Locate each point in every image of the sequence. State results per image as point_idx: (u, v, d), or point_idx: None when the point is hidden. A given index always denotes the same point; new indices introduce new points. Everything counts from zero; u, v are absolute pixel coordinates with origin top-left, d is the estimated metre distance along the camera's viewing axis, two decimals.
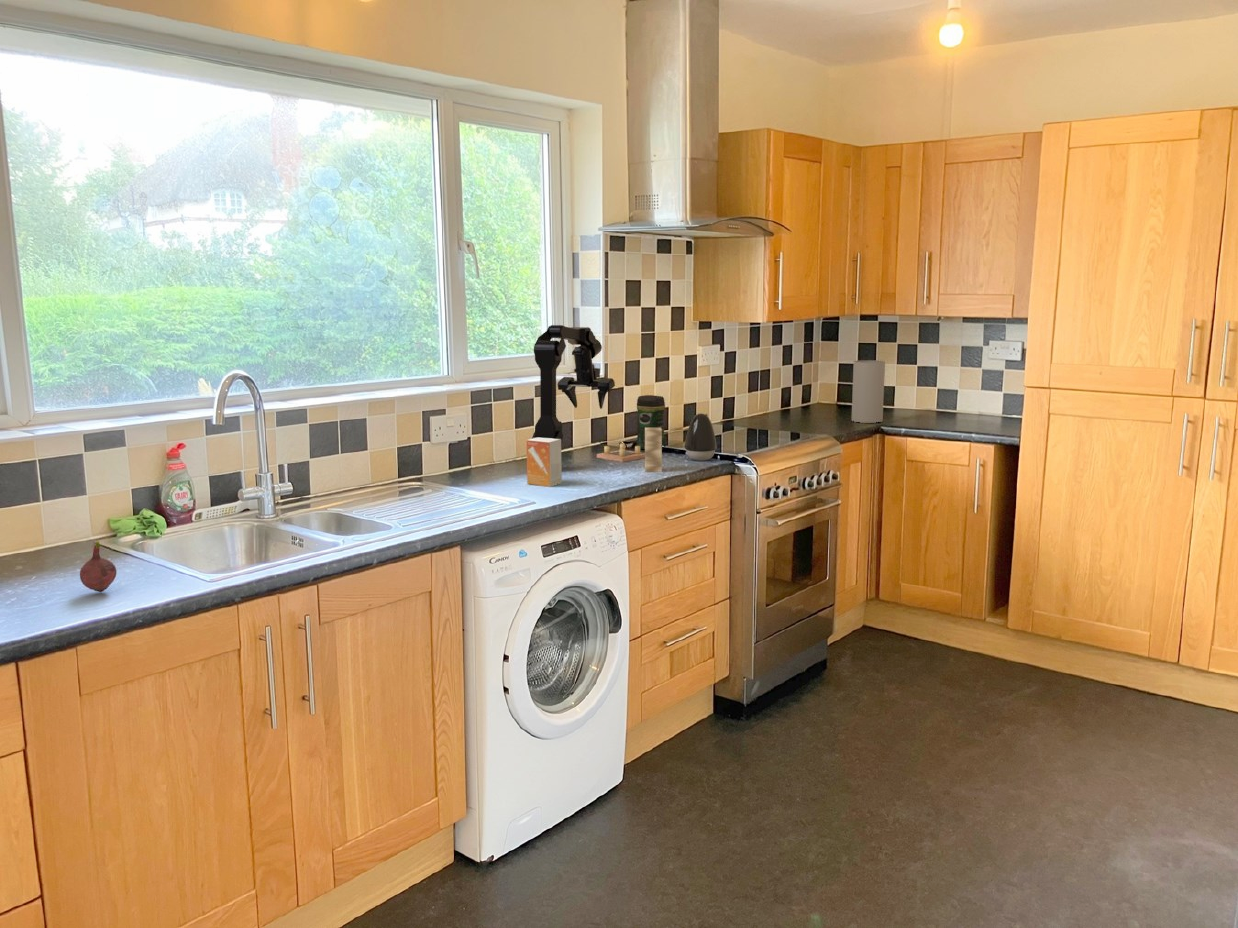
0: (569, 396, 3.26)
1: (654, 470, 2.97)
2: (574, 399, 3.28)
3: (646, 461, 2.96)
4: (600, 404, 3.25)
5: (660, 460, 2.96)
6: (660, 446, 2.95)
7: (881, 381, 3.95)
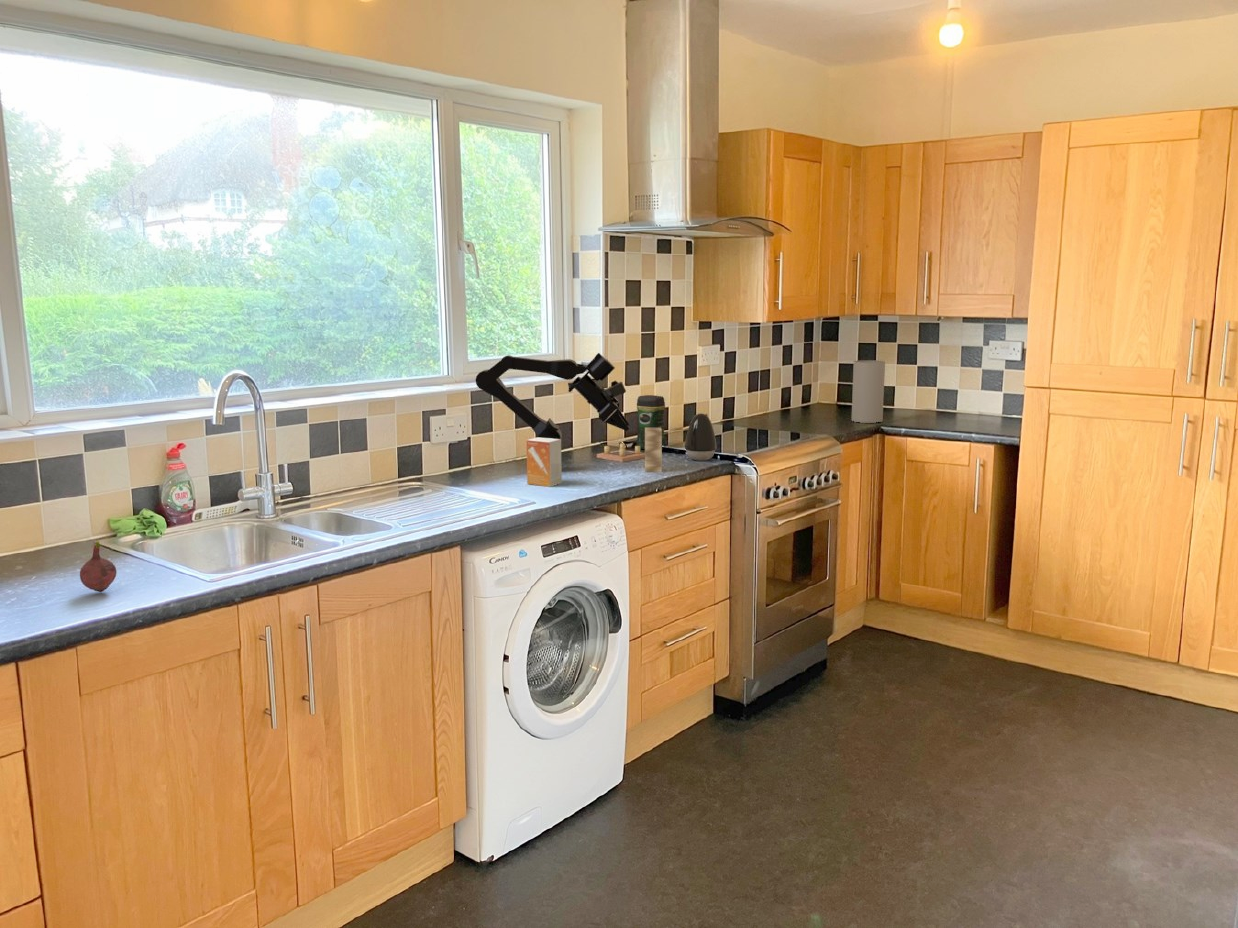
0: None
1: (654, 470, 2.97)
2: None
3: (646, 461, 2.96)
4: None
5: (660, 460, 2.96)
6: (660, 446, 2.95)
7: (881, 381, 3.95)
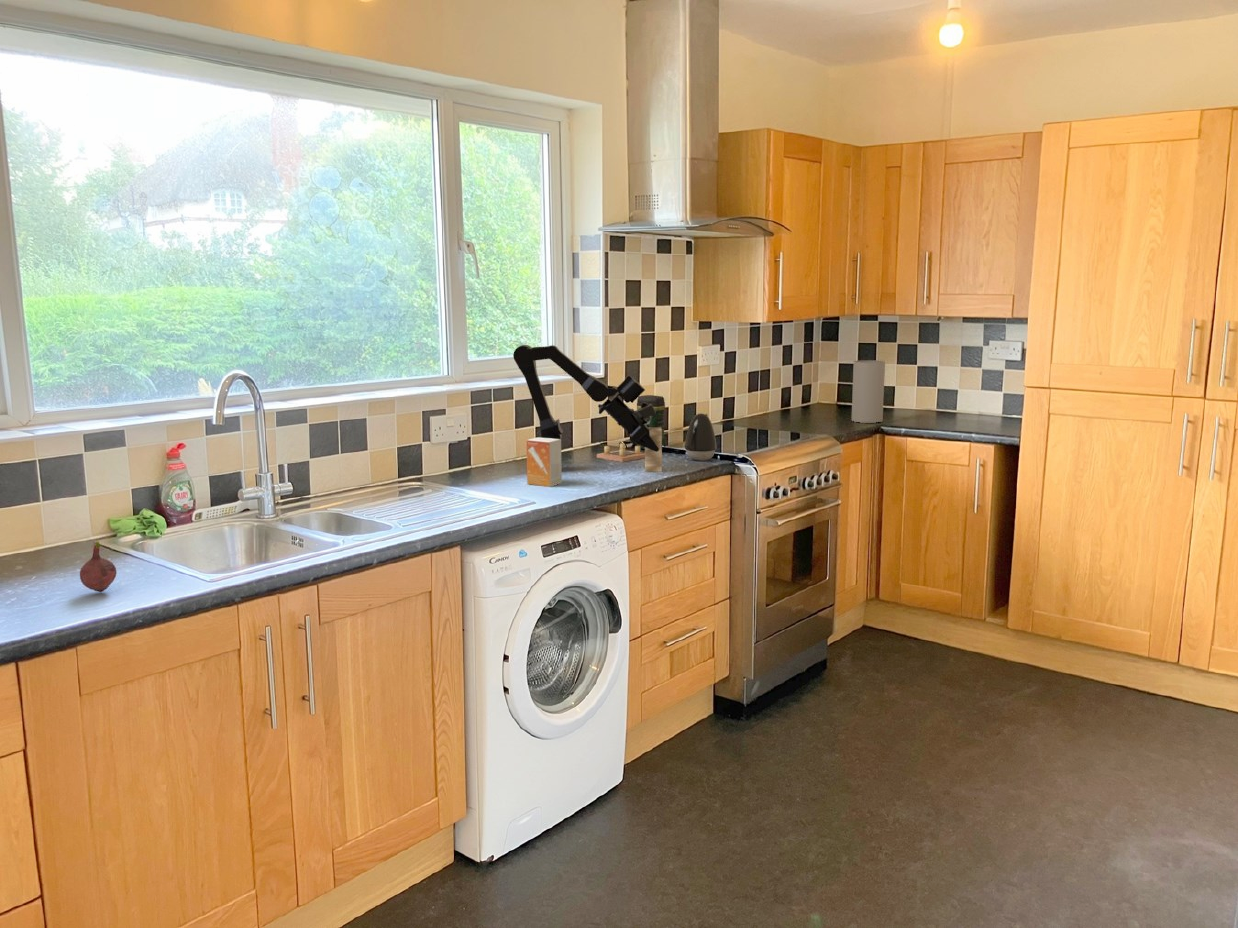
0: None
1: (654, 470, 2.97)
2: None
3: (646, 461, 2.96)
4: None
5: (660, 460, 2.96)
6: (660, 446, 2.95)
7: (881, 381, 3.95)
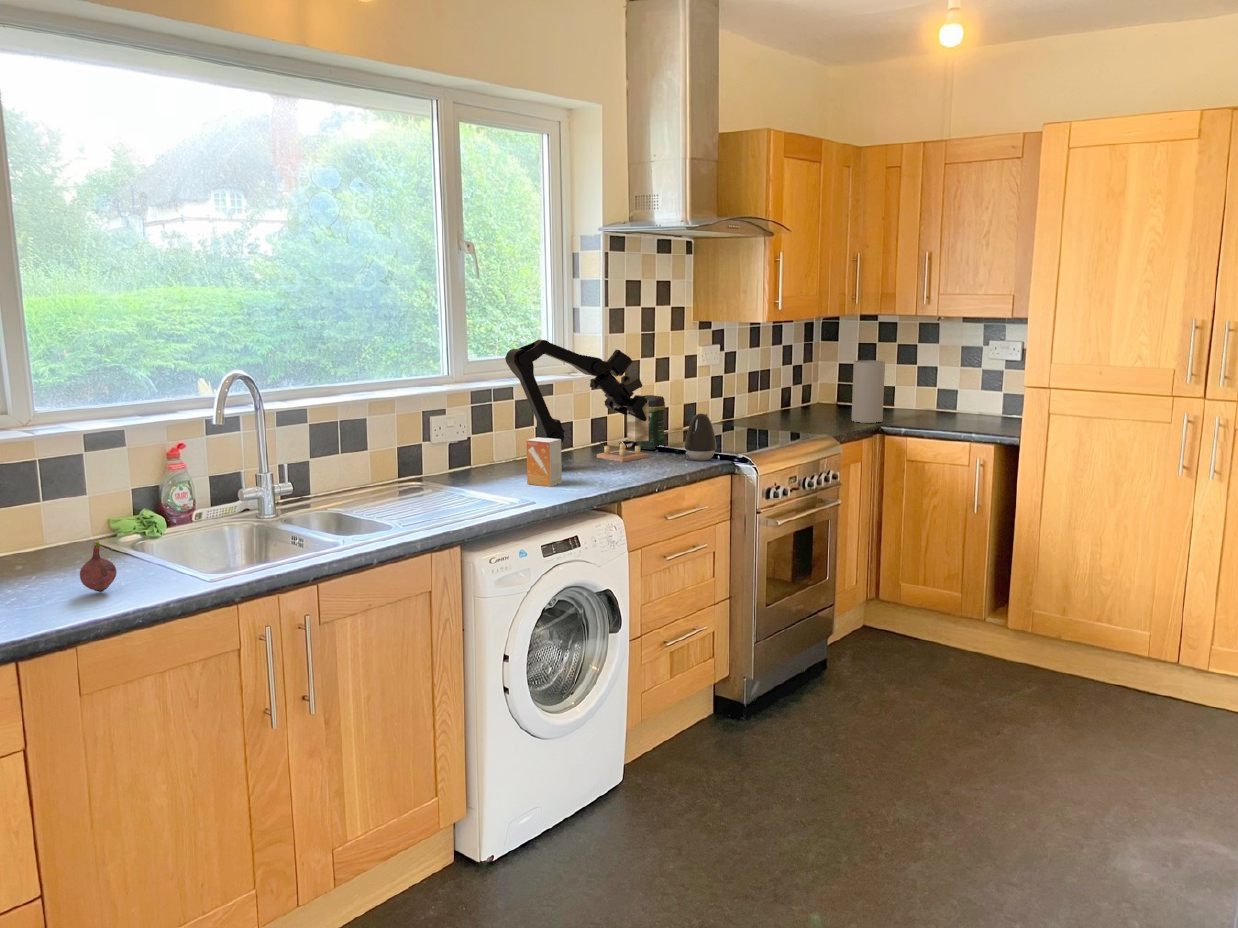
0: (622, 413, 3.14)
1: (642, 439, 3.12)
2: None
3: (636, 431, 3.11)
4: (640, 419, 3.10)
5: (647, 429, 3.13)
6: (647, 416, 3.12)
7: (881, 381, 3.95)
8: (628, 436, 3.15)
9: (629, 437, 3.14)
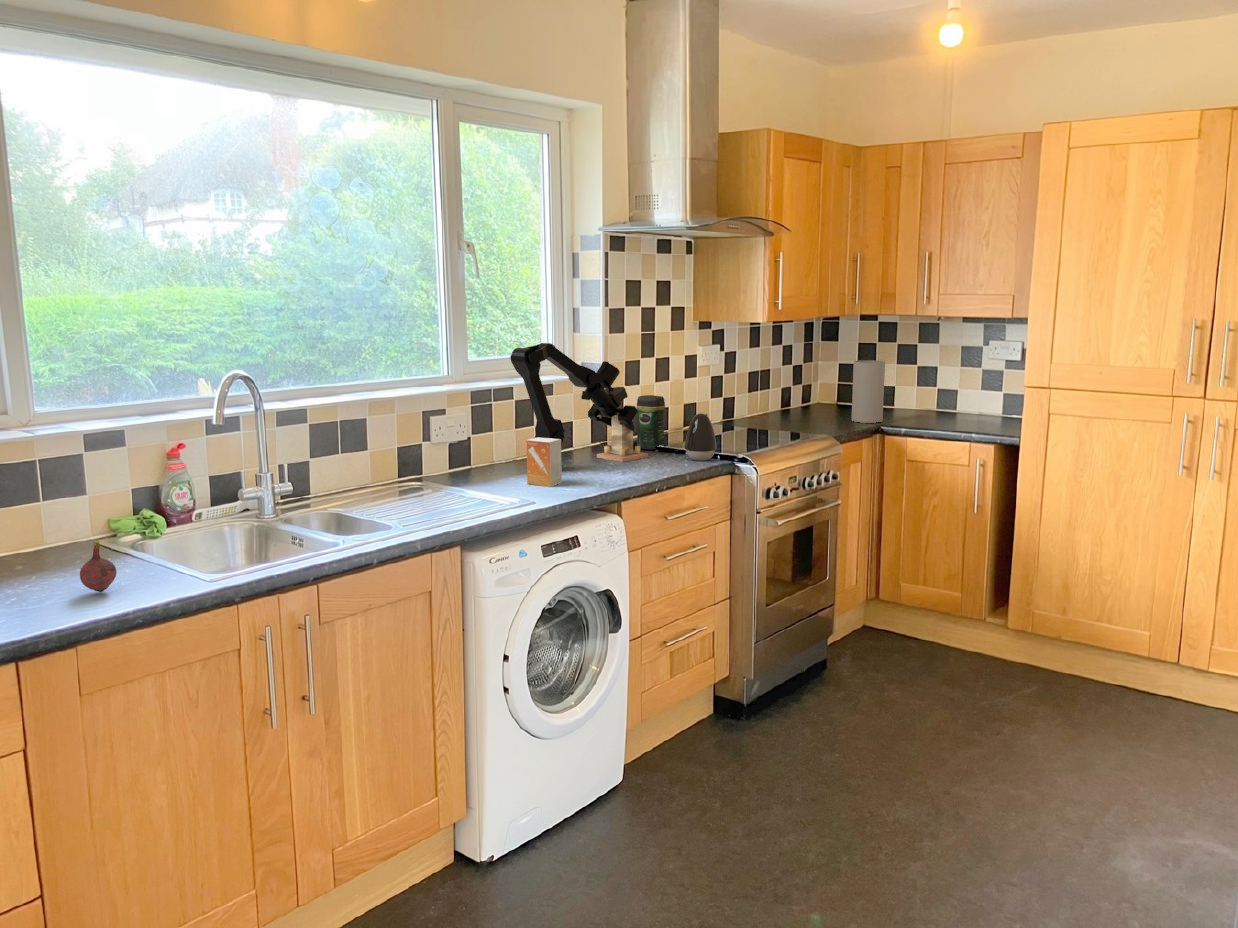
0: (604, 423, 3.21)
1: (628, 452, 3.20)
2: (611, 423, 3.22)
3: (622, 445, 3.18)
4: (629, 429, 3.17)
5: (632, 442, 3.21)
6: None
7: (881, 381, 3.95)
8: (612, 449, 3.21)
9: (614, 451, 3.21)
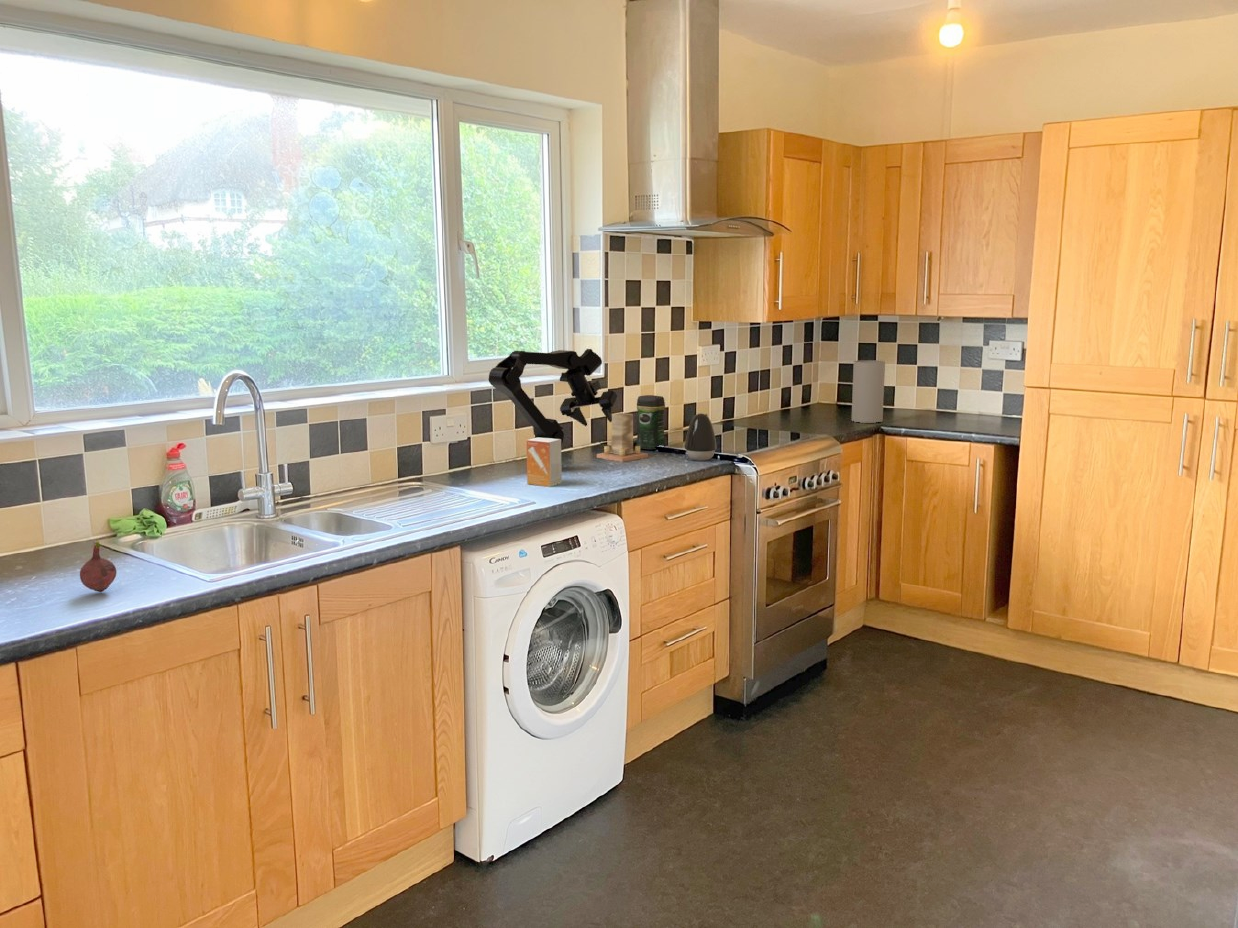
0: (575, 418, 3.12)
1: (628, 452, 3.20)
2: (582, 418, 3.13)
3: (622, 445, 3.18)
4: (608, 418, 3.09)
5: (632, 442, 3.21)
6: (632, 429, 3.20)
7: (881, 381, 3.95)
8: (612, 449, 3.21)
9: (614, 451, 3.21)
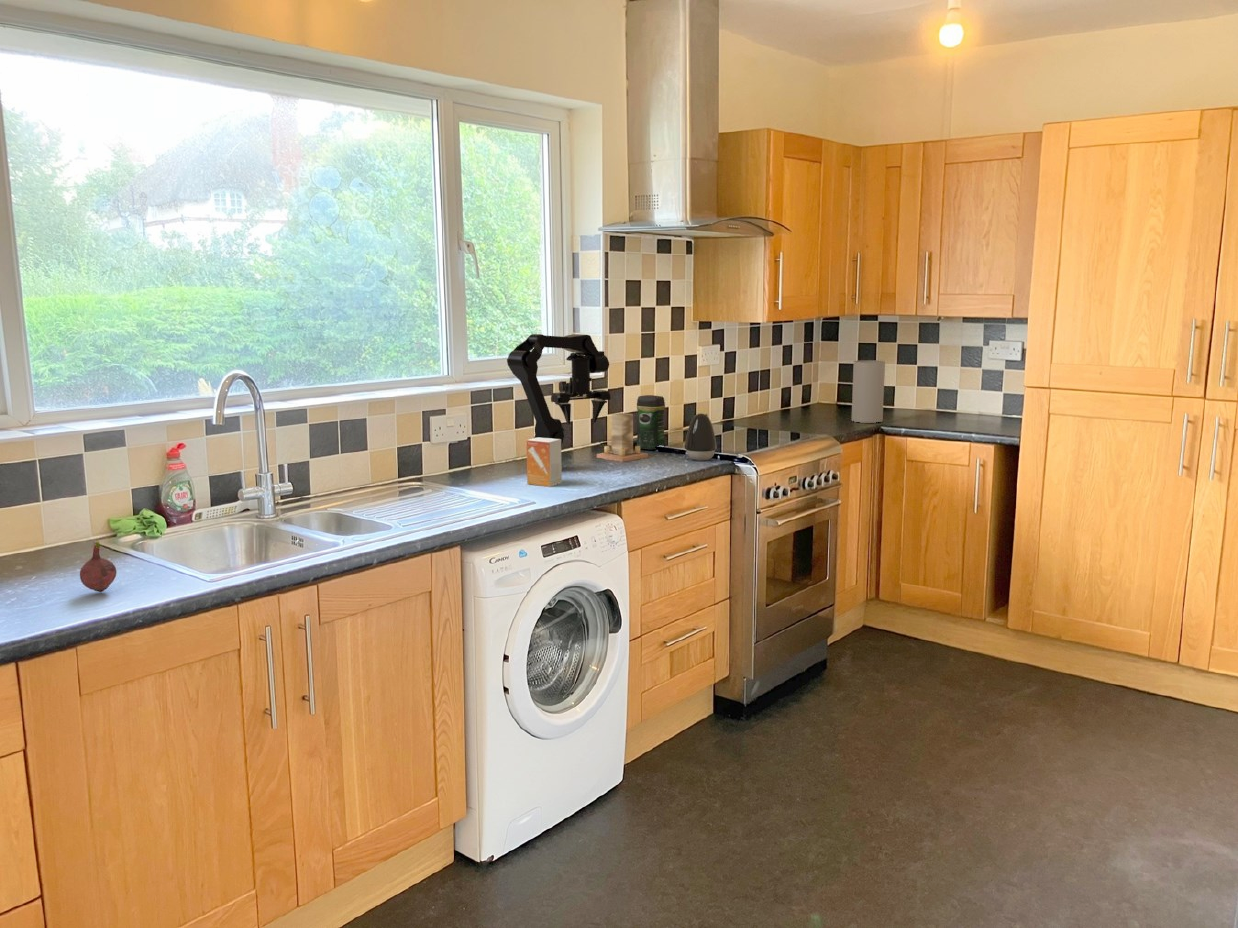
0: (568, 410, 3.03)
1: (628, 452, 3.20)
2: None
3: (622, 445, 3.18)
4: (597, 416, 3.10)
5: (632, 442, 3.21)
6: (632, 429, 3.20)
7: (881, 381, 3.95)
8: (612, 449, 3.21)
9: (614, 451, 3.21)
